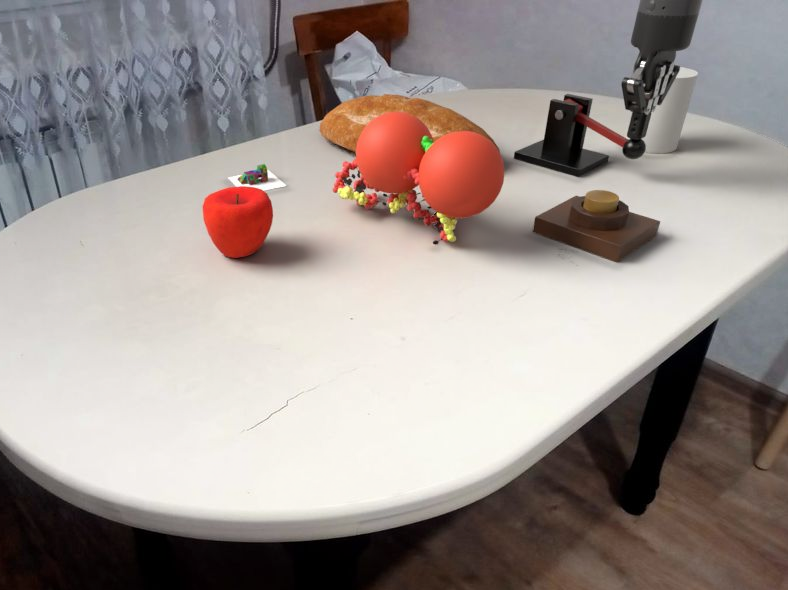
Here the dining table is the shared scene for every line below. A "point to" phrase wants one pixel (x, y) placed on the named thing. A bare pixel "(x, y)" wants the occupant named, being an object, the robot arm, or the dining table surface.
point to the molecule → (423, 171)
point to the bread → (358, 112)
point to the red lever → (613, 135)
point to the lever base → (564, 140)
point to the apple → (238, 219)
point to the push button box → (596, 228)
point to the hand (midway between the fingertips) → (635, 137)
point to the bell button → (601, 201)
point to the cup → (670, 114)
